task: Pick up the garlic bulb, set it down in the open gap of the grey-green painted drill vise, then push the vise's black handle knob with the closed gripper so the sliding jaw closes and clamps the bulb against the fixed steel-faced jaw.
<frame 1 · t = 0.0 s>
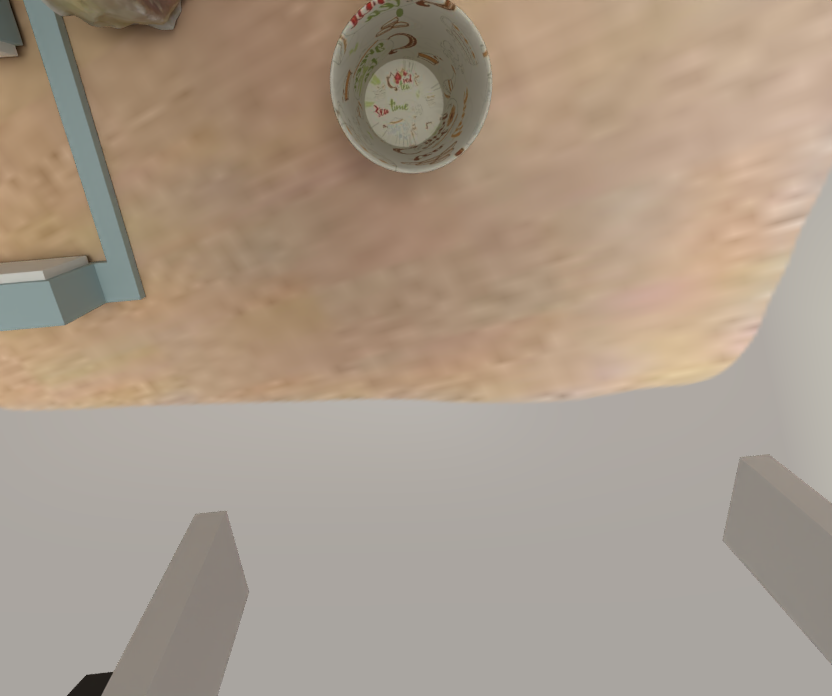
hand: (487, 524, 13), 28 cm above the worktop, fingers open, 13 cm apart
mug: (396, 71, 33), on the worktop
vise: (6, 182, 34), on the worktop
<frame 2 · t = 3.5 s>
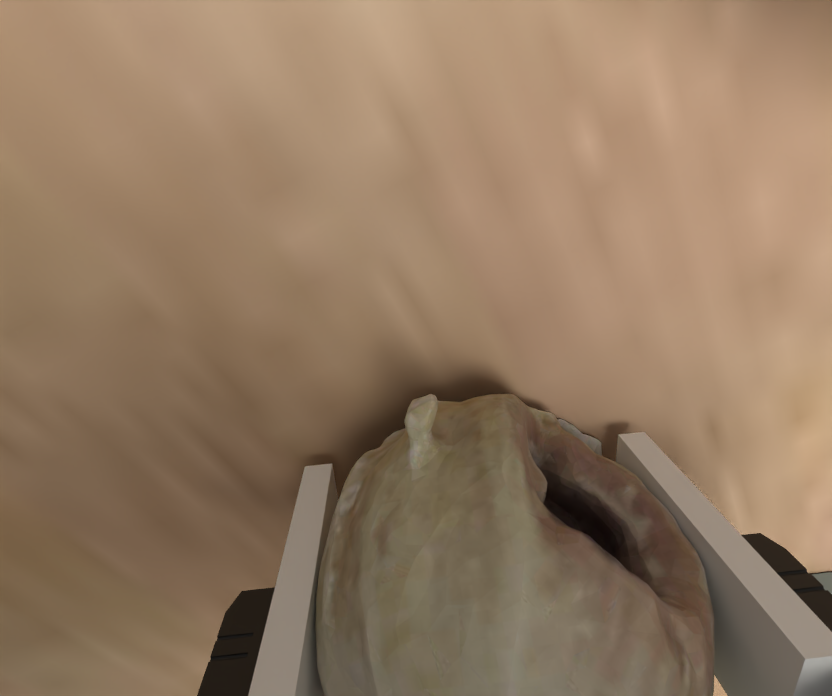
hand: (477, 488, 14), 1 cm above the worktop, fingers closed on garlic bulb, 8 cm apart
garlic bulb: (472, 468, 15), on the worktop, touching gripper
when the fingers open (3 cm above the worktop, at t = 8.1 s): garlic bulb drops 2 cm, on the worktop.
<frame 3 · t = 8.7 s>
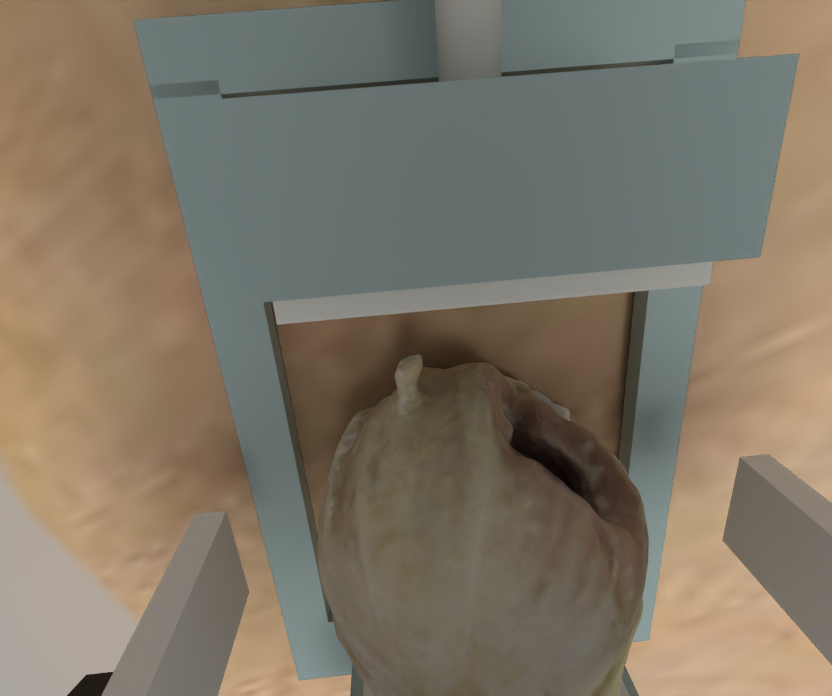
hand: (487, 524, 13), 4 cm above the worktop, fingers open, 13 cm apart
garlic bulb: (456, 433, 17), on the worktop
jaw: (466, 39, 9), point 3 cm above the worktop, slide at 0.0 cm
vise: (464, 461, 17), on the worktop
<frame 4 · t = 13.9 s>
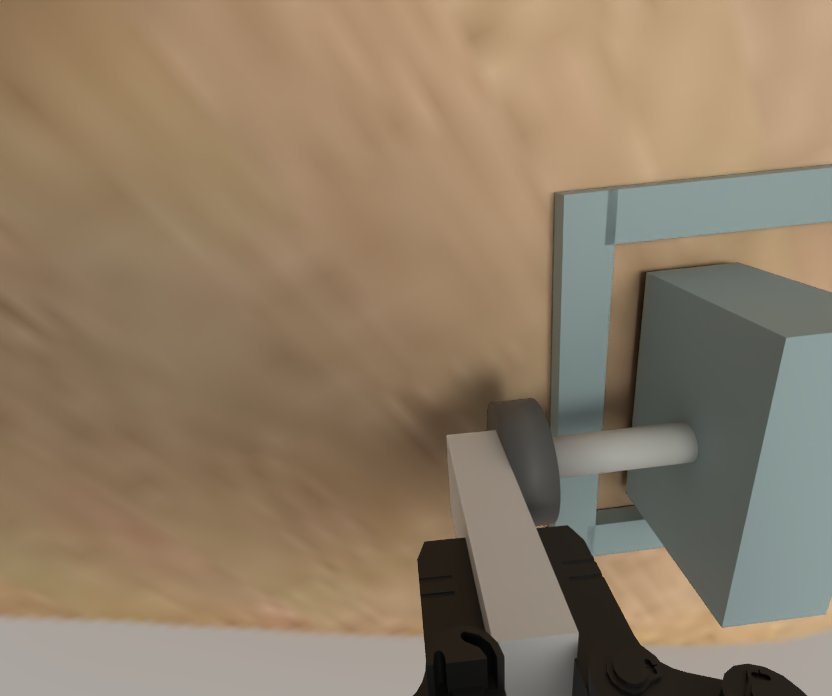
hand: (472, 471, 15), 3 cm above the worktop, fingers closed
jaw: (649, 442, 15), point 3 cm above the worktop, slide at 0.6 cm, touching gripper
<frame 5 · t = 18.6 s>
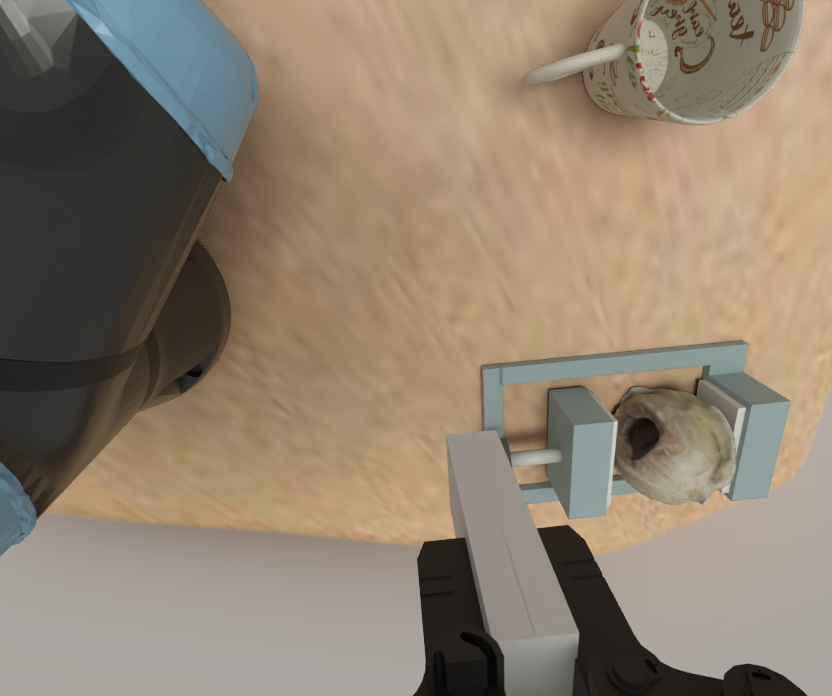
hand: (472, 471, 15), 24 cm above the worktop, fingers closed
mug: (593, 73, 33), on the worktop
garlic bulb: (636, 420, 44), on the worktop
jaw: (546, 454, 40), point 3 cm above the worktop, slide at 3.4 cm
vise: (630, 423, 44), on the worktop
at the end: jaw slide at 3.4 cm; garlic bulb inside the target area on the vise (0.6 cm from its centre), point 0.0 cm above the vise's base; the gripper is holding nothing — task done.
